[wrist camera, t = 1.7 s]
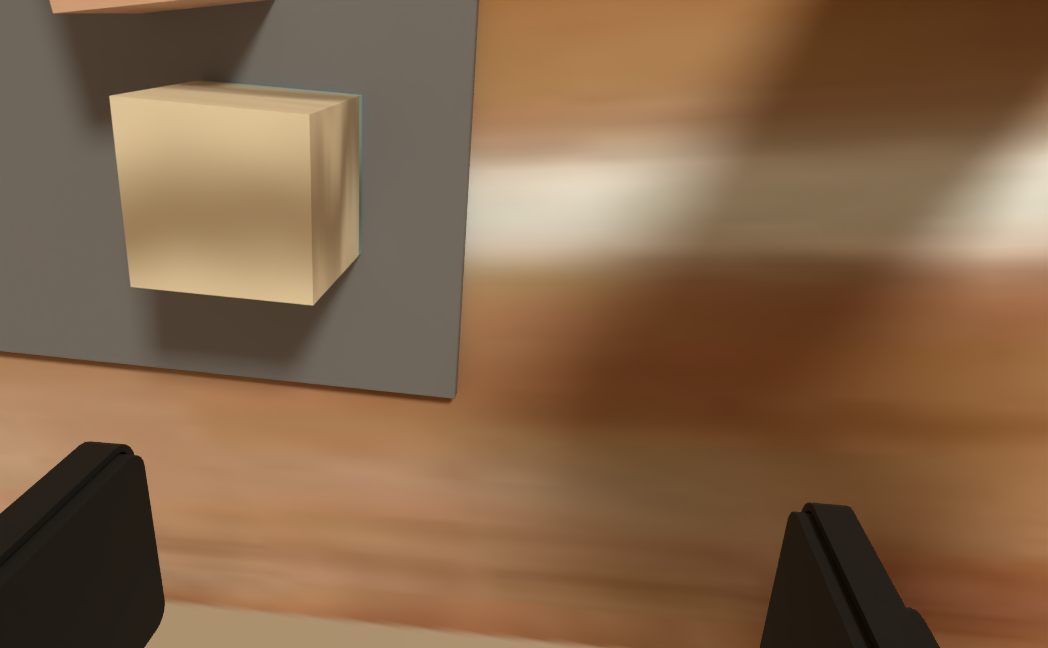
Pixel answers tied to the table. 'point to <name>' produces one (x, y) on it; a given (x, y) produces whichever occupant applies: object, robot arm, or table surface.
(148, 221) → the maple block
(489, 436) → the table surface
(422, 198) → the mat
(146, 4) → the terracotta block
